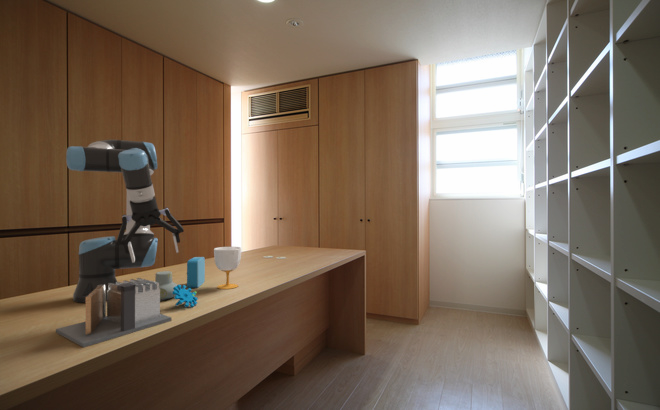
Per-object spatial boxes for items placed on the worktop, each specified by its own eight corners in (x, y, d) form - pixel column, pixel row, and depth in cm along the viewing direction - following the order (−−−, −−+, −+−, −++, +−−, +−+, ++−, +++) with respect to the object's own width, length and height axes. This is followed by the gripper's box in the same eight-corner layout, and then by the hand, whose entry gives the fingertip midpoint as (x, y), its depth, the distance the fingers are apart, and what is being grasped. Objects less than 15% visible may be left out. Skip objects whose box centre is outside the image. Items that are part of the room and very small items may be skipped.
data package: (194, 282, 159) (194, 256, 159) (204, 282, 160) (204, 256, 159) (186, 288, 147) (186, 261, 147) (197, 288, 148) (197, 260, 148)
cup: (246, 285, 154) (246, 247, 154) (229, 291, 143) (229, 250, 143) (226, 282, 158) (226, 246, 158) (207, 288, 148) (207, 249, 148)
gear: (184, 307, 116) (170, 284, 119) (173, 318, 116) (159, 295, 120) (205, 302, 126) (191, 281, 129) (195, 313, 127) (181, 292, 130)
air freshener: (143, 301, 128) (144, 274, 128) (156, 295, 137) (156, 270, 137) (172, 301, 128) (172, 275, 128) (182, 295, 136) (182, 270, 136)
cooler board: (55, 332, 97) (55, 285, 97) (141, 310, 117) (141, 271, 117) (83, 347, 87) (83, 294, 87) (171, 320, 107) (171, 277, 107)
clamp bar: (98, 316, 106) (98, 284, 106) (106, 315, 107) (106, 284, 107) (83, 334, 92) (83, 297, 92) (93, 333, 92) (93, 296, 92)
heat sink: (106, 319, 105) (107, 283, 105) (139, 310, 114) (139, 277, 114) (126, 326, 99) (126, 289, 99) (159, 317, 107) (160, 282, 107)
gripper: (95, 209, 101) (113, 270, 109) (185, 195, 111) (195, 251, 120) (98, 201, 107) (115, 259, 115) (182, 188, 117) (192, 242, 126)
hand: (156, 255), depth 117 cm, fingers open, 13 cm apart
